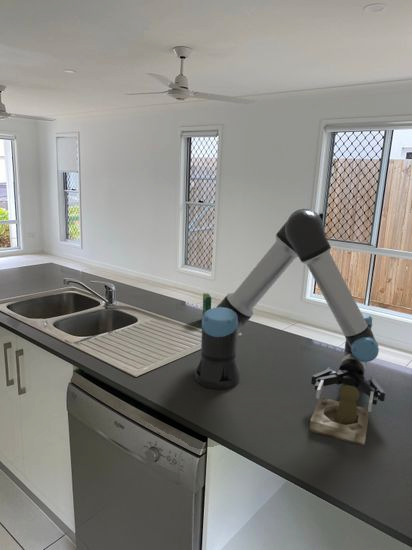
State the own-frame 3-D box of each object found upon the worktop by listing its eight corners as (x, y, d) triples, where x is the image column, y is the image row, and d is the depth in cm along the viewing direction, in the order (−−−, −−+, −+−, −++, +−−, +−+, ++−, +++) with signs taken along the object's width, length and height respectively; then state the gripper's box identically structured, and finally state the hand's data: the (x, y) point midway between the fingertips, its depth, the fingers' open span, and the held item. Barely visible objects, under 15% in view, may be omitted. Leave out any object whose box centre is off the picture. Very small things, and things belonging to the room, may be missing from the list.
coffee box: (201, 318, 195) (202, 292, 192) (207, 318, 195) (208, 292, 192) (204, 324, 187) (205, 297, 184) (210, 324, 188) (211, 297, 185)
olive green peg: (358, 431, 108) (363, 395, 105) (335, 428, 109) (339, 391, 106) (355, 419, 113) (360, 384, 111) (333, 416, 115) (337, 381, 112)
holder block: (309, 430, 108) (310, 420, 108) (318, 405, 121) (319, 396, 120) (364, 446, 103) (365, 435, 102) (368, 418, 115) (369, 409, 114)
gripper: (393, 389, 123) (391, 425, 104) (311, 371, 133) (296, 401, 115) (396, 367, 121) (395, 399, 103) (313, 350, 132) (298, 377, 113)
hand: (343, 400), depth 109 cm, fingers open, 13 cm apart
